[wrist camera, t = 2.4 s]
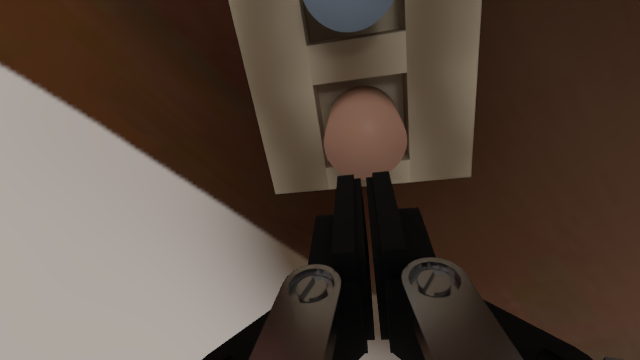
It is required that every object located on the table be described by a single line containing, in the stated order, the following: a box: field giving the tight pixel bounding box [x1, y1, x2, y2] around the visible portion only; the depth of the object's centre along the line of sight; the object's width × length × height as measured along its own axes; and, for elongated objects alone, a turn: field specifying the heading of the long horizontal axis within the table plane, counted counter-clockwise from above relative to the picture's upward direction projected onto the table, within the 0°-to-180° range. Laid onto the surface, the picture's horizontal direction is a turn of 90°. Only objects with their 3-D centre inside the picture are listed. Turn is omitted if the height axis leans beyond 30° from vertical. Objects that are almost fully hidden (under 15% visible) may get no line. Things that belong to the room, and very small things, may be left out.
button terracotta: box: [324, 86, 407, 180], centre depth 18 cm, size 4×4×4 cm
